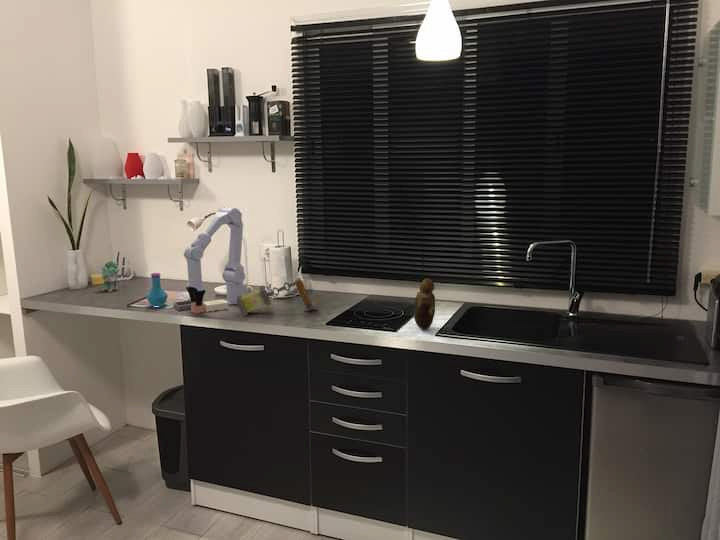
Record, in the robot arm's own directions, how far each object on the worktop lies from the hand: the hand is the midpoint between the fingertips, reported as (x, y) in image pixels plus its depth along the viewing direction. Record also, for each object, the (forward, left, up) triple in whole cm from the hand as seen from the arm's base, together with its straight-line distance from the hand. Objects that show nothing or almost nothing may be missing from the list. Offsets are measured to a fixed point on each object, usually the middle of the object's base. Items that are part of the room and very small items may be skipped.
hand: (196, 304), depth 274 cm
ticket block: (-8, 0, -3) cm, 9 cm away
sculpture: (-67, +77, -4) cm, 102 cm away
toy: (+24, -68, -4) cm, 72 cm away
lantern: (-29, +21, -4) cm, 36 cm away
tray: (+2, -10, -3) cm, 11 cm away
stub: (0, 0, -4) cm, 4 cm away
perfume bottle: (+12, -21, -4) cm, 24 cm away
